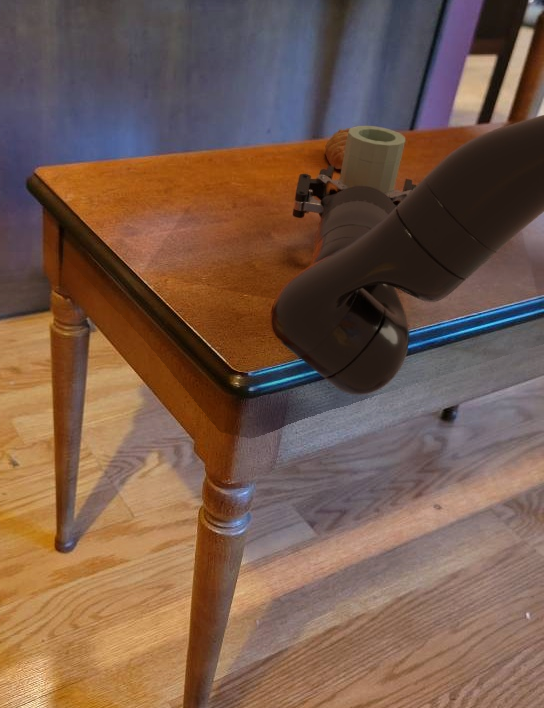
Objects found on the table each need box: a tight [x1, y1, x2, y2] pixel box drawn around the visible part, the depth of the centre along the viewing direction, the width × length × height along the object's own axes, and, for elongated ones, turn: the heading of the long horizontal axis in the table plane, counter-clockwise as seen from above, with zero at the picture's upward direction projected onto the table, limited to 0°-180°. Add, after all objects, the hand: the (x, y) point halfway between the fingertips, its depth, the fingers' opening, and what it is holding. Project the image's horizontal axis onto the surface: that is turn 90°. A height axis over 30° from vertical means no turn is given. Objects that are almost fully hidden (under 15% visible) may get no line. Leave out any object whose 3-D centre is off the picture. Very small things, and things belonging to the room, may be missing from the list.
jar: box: [338, 125, 406, 193], centre depth 84 cm, size 6×6×11 cm
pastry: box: [324, 127, 351, 170], centre depth 104 cm, size 9×7×4 cm
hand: (367, 181), depth 82 cm, fingers open, 8 cm apart
